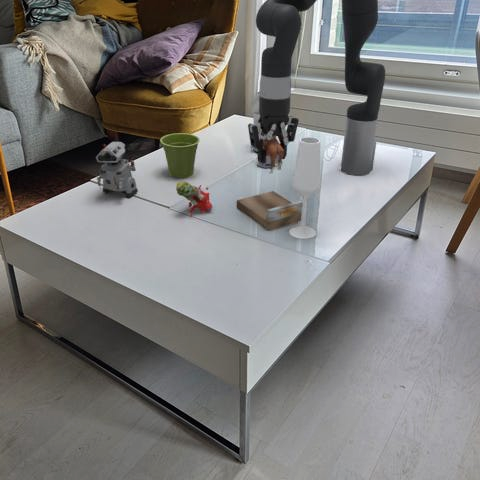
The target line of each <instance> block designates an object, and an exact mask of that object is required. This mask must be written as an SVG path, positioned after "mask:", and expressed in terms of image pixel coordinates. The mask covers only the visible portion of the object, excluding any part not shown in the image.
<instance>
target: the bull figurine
mask: <svg viewBox="0 0 480 480" xmlns="http://www.w3.org/2000/svg"><path fill="white" fill-rule="evenodd" d="M266 136H267V135H266ZM277 137H278V136H277V135H274V136H272V137H271V140H270V141H269V142H268V144H267V147H266V162H267V156H268V157H270V159H271V167H270V170H269V174H273V173H274V167H275V165H277V164H278V166H277V168H276V169H277V170H278V171H280V170H282V167H283V159H282V158H283V156H284V149H283V148H282V146H281V145H280V144H279V143H280V142H279V139H278V138H277ZM274 164H275V165H274Z"/></svg>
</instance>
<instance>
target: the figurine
mask: <svg viewBox="0 0 480 480" xmlns="http://www.w3.org/2000/svg"><path fill="white" fill-rule="evenodd" d="M103 147H104V148H103V149H101V151H99V153H98V154H97V155H96V156H95V161H97V163H103V164H102V165H101V166H100V167H101V168H99V169H100V174H99V175H98V177H96V180H97V184H98V186H99V189H101V181H102V192H103V193H106V194H107V193H109V192H110V191H114V192H119V193H120V192H123V191H126V192H125V197H126V198H129V199H131V198H133V196H135V195H136V194H137V193H138V191H139V190H138V188H137V184H136V183H137V182H136V179H135V178H134V177H133V174H132V172H136V166H135V162H134V161H135V160H134V159H132V158H131V157H128V158H127V159H125V158H124V159H123V157H124V156H125V154H126V149H125V147H126V144H125V143H123V142H121V141H112V142H110V143H109V144H108V145H106V144H105V143H104V144H103ZM129 160H130V162H129ZM101 179H102V180H101Z"/></svg>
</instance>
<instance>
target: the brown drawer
mask: <svg viewBox="0 0 480 480" xmlns="http://www.w3.org/2000/svg"><path fill="white" fill-rule="evenodd" d="M302 203H303V199H302V200H299V201H294V202H292V201H291V200H289V199H287V198H285V197H283V196H282V195H281V194H279V193H277V192H276V191H273V190H271V191H267V192H264V193H261V194H260V193H259V194H256V195H252V196H248V197H244V198H241V199H237V200H236V209H237V210H239V211H240V212H241V213H243V214H244V215H246V216H247V217H248V218H250V220H253V221H254V222H255V223H257V224H258V225H260V226H261V227H262V228H264V229H265V230H266V231H273V230H275V229H278V228H281V227H286V226H288V225H289V226H290V225H293V224H295V223H299V222H301V215H302Z"/></svg>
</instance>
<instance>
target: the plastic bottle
mask: <svg viewBox="0 0 480 480" xmlns="http://www.w3.org/2000/svg"><path fill="white" fill-rule="evenodd" d="M256 99H257V100H256V101H255V102H254V104H253V106H252V108H251V109H252V110H251V111H252V118H253V124H255V123H257V122H258V120H259V118H260V114H259V91H258V92H257V93H256ZM258 134H259V132H258ZM251 148H252V150H253V151H254V152H256V153H258V149H257V148H255V147H253V146H251Z"/></svg>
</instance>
